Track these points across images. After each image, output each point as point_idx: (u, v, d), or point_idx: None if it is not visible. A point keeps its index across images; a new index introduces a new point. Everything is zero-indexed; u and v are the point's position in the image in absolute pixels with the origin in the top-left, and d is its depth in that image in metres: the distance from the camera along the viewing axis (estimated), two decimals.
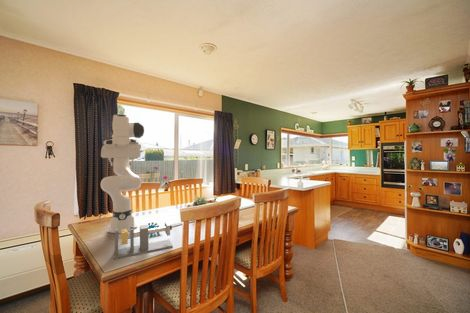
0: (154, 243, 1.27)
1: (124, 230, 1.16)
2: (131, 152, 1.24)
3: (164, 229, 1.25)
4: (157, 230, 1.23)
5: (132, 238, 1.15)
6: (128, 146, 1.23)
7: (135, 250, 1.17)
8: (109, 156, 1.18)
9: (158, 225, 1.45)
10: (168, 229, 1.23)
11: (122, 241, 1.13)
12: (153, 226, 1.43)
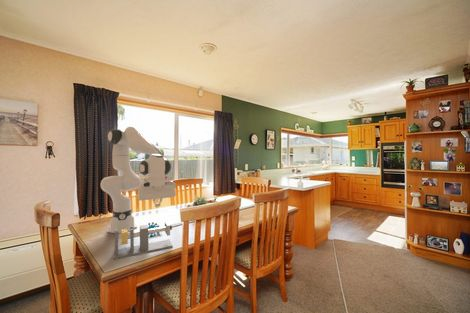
0: (154, 243, 1.27)
1: (124, 230, 1.16)
2: (167, 192, 1.22)
3: (164, 229, 1.25)
4: (157, 230, 1.23)
5: (132, 238, 1.15)
6: (164, 186, 1.21)
7: (135, 250, 1.17)
8: (146, 198, 1.16)
9: (158, 225, 1.45)
10: (168, 229, 1.23)
11: (122, 241, 1.13)
12: (153, 226, 1.43)
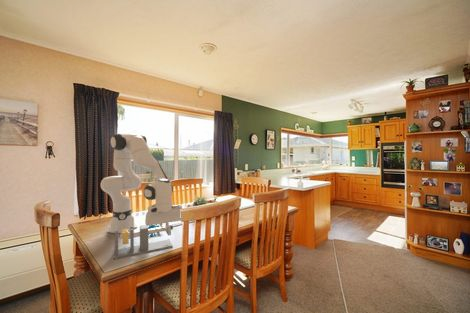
0: (154, 243, 1.27)
1: (125, 230, 1.16)
2: (174, 216, 1.24)
3: None
4: (158, 230, 1.23)
5: (132, 238, 1.15)
6: (171, 211, 1.23)
7: (135, 250, 1.17)
8: (153, 223, 1.18)
9: (158, 225, 1.45)
10: (169, 229, 1.23)
11: (123, 241, 1.13)
12: (153, 226, 1.43)
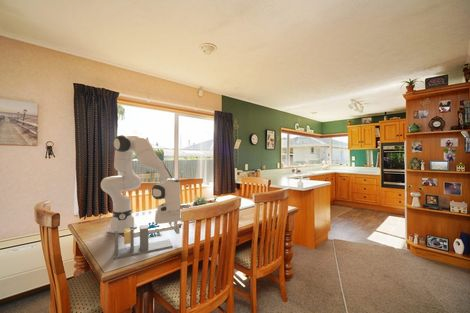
0: (154, 243, 1.27)
1: (127, 230, 1.17)
2: None
3: None
4: (167, 228, 1.26)
5: (132, 238, 1.15)
6: (179, 210, 1.25)
7: (135, 250, 1.17)
8: (163, 222, 1.21)
9: (158, 225, 1.45)
10: (177, 227, 1.26)
11: (125, 240, 1.14)
12: (153, 226, 1.44)
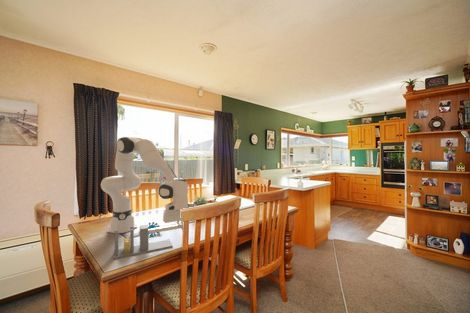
0: (154, 243, 1.27)
1: (127, 239, 1.17)
2: None
3: None
4: (174, 227, 1.28)
5: (132, 238, 1.15)
6: None
7: (135, 250, 1.17)
8: (171, 220, 1.23)
9: (158, 225, 1.45)
10: None
11: (125, 250, 1.14)
12: (153, 226, 1.44)
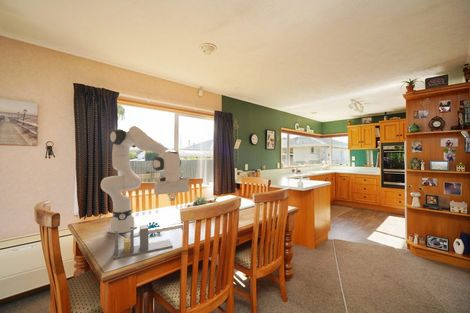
0: (154, 243, 1.27)
1: (127, 239, 1.17)
2: (181, 187, 1.27)
3: (181, 226, 1.30)
4: (174, 227, 1.28)
5: (132, 238, 1.15)
6: (179, 181, 1.26)
7: (135, 250, 1.17)
8: (162, 192, 1.21)
9: None
10: None
11: (125, 250, 1.14)
12: (154, 226, 1.44)
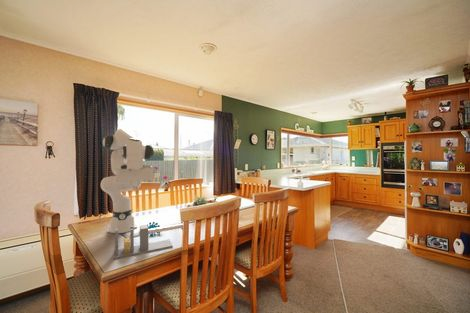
0: (154, 243, 1.27)
1: (127, 239, 1.17)
2: (145, 175, 1.26)
3: (181, 226, 1.30)
4: (174, 227, 1.28)
5: (132, 238, 1.15)
6: (142, 170, 1.25)
7: (135, 250, 1.17)
8: (123, 180, 1.21)
9: (159, 225, 1.45)
10: None
11: (125, 250, 1.14)
12: (154, 225, 1.44)
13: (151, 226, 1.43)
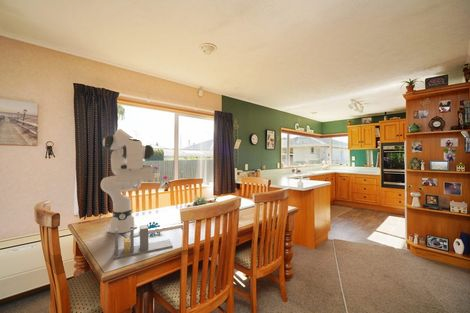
0: (154, 243, 1.27)
1: (127, 239, 1.17)
2: (145, 175, 1.26)
3: (181, 226, 1.30)
4: (174, 227, 1.28)
5: (132, 238, 1.15)
6: (142, 169, 1.25)
7: (135, 250, 1.17)
8: (123, 180, 1.21)
9: (159, 225, 1.45)
10: None
11: (125, 250, 1.14)
12: (154, 225, 1.44)
13: (151, 226, 1.43)
